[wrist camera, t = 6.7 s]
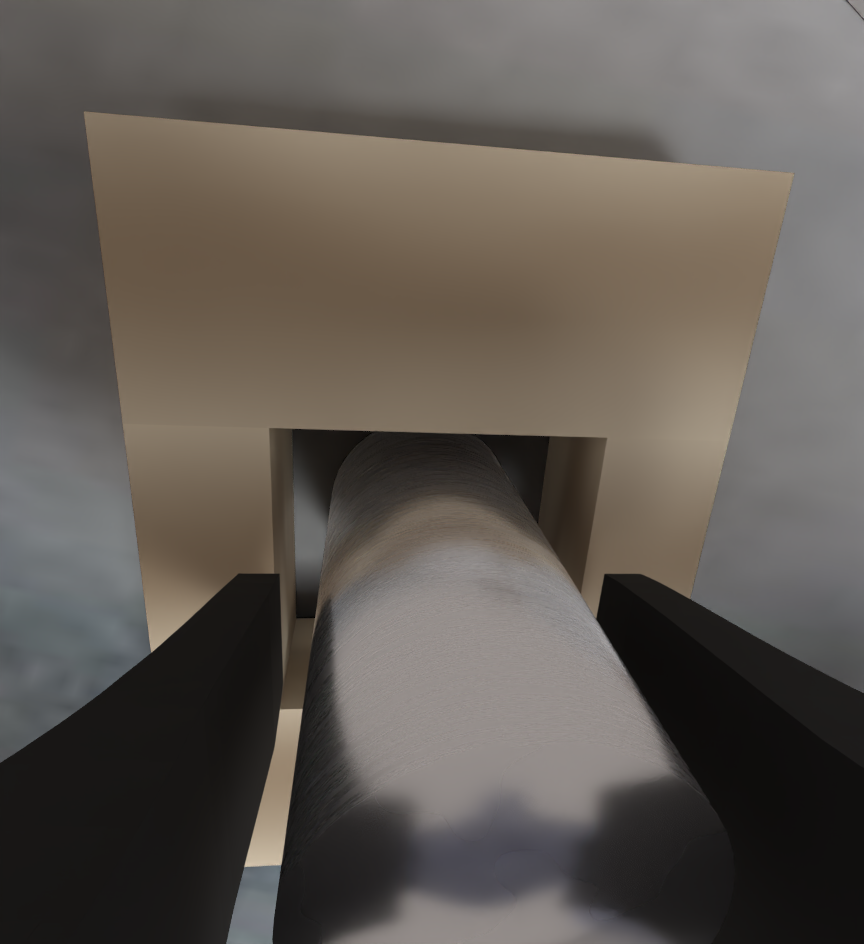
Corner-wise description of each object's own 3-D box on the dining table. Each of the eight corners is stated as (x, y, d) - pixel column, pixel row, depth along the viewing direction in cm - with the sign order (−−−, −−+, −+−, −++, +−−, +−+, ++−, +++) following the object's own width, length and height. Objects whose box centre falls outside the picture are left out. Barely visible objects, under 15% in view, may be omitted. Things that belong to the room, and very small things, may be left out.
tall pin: (496, 582, 14) (677, 1046, 6) (329, 579, 14) (274, 1082, 6) (518, 423, 13) (790, 740, 5) (333, 414, 13) (269, 749, 4)
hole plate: (585, 744, 17) (629, 845, 14) (212, 757, 15) (178, 870, 13) (692, 190, 12) (794, 173, 9) (158, 147, 10) (83, 110, 8)
